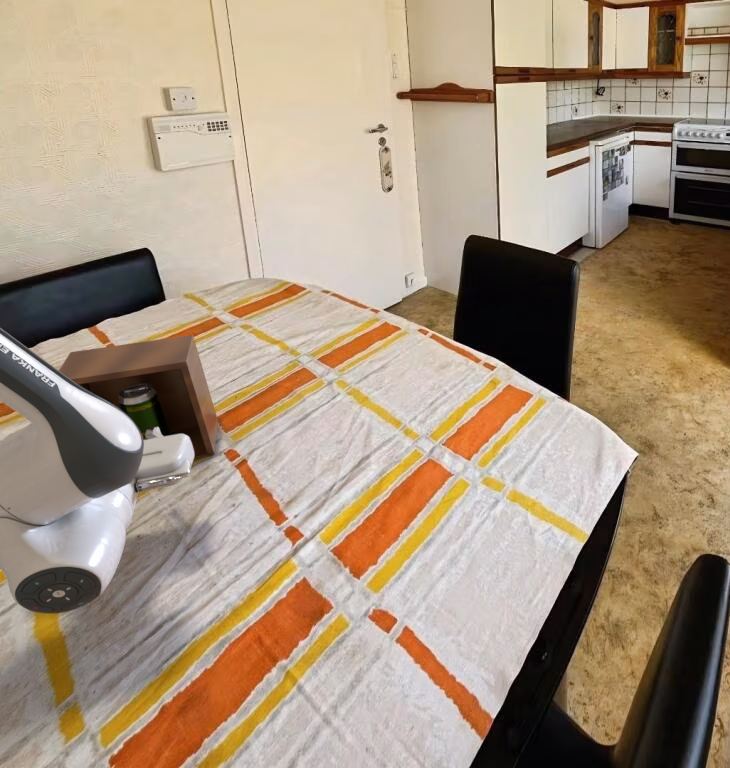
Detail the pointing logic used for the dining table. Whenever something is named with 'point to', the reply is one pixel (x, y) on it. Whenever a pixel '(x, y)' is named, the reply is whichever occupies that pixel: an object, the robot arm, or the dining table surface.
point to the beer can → (143, 408)
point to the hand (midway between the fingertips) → (116, 438)
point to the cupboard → (154, 382)
